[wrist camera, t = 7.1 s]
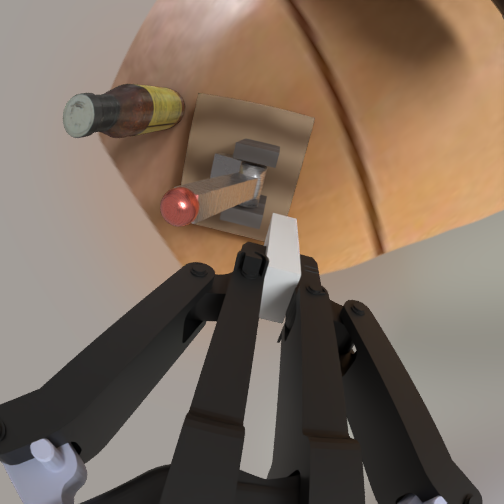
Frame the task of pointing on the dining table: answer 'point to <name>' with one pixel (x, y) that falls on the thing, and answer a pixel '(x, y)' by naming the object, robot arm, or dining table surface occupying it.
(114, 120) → the sauce bottle
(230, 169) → the lever
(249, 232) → the base
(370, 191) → the dining table surface
